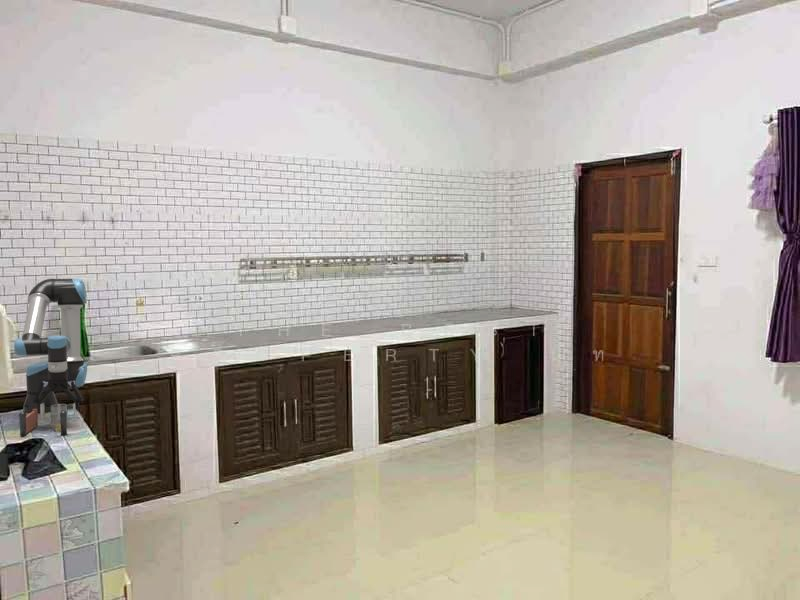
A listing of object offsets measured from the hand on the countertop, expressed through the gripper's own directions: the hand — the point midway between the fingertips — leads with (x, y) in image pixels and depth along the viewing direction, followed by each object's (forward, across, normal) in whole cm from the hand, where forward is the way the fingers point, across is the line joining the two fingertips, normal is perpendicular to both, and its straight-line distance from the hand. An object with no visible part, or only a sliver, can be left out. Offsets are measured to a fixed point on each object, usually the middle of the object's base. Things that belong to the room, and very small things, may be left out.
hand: (59, 417), depth 293 cm
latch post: (+5, +5, -11) cm, 13 cm away
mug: (+5, 0, 0) cm, 5 cm away
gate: (+4, -11, -3) cm, 12 cm away
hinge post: (+5, -11, -11) cm, 16 cm away
